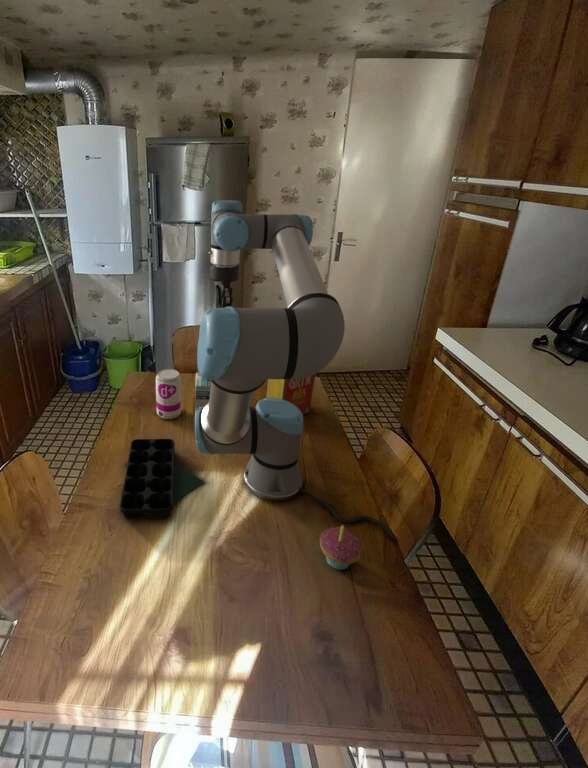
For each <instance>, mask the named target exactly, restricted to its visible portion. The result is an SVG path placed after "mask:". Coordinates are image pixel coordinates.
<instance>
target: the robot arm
mask: <svg viewBox="0 0 588 768" xmlns="http://www.w3.org/2000/svg"><path fill="white" fill-rule="evenodd" d="M210 217H211V219H210V220H211V221H210V223H211V224H210V242H211V243H210V251H208V252H207V253H208V256H210V266H209V279H210V280H212V281H213V282H216V283H217V284H215V285H214V288H215V289H214V291H215V307H212V308H209V309H208V310H207V311H205V313H203V316H202V318H201V321H200V326H199V329H198V330H199V333H198V335H199V336H198V339H197V356H196V357H197V359H196V360H197V361H196V362H197V373H199V374H200V376H201V377H202V378H205V379H209V380H210V381H211V390H210V399H209V403H208V404H207V405H206V406H202V407H198V408H197V409H196V412H195V411H194V412H195V413H194V436H195V444H196V448H197V451H198V452H199V453H200V454H205V455H211V456H212V455H251V457H250V459H249V461H248V463H247V465H246V466H245V469H244V471H243V472H244V473H243V483H244V485H245V488H246V489H247V490H248V491H249V492H250V493H251V494H253V495H254V496H256V497H257V498H260V499H262V500H265V501H270V502H286V501H289V500H292V499H294V498H296V497H297V496H298V495H299V494H300V493H302V494H303V495H306V496H307V497H309V498H310V499H312V500H314V501H316V502H317V503H320V504H321V505H323V506H325V507H326V508H327V509H328V510H329V511H330V512H331V514H332V515H333V516H334V518H335V519H336V520H337V521H339V522H341V523H344V524H353V523H357V522H359V521H368V522H371V523H374V524H376V525H378V526H380V527H381V528H383V529H384V530H385V531H386V532H387V533H388V535H389V536H390V537H391V539H392V540H393V542H395V543H399V539H398V538H397V536H396V535H395V534H394V532H393V531H392V529H390V527H388V526H387V525H386V524H385V523H384V522H382V521H380V520H379V519H377V518H374V517H372V516H367V515H358V516H357V517H354V518H350V519H348V518H347V519H346V518H344V517H341V516H340V515H339V514H338V513H337V511H336V510H335V508H334V507H333V506H332V505H331V504H330V503H328V502H327V501H325V500H323V499H321V498H319V497H318V496H316V495H314V494H312V493H310V492H308V491H307V490H305V489H304V488H302V487H303V476H302V473H301V468H300V464H299V457H300V449H301V443H302V435H303V432H304V414H302V412H301V411H300V410H299V408H298V407H296V406H295V405H294V404H292V403H290V402H288V401H285V400H282V399H278V398H266V397H265V398H262V399H260V400H259V401H258V402H257V404H255V406H251V403H252V399H253V396H254V394H255V392H256V391H258V390H259V389H260V388H261V387H262V386H264V385H265V383H266V382H267V381H268V379H302V378H306V377H309V376H311V375H314V374H315V375H316V374H317V373H320V371H322V370H324V368H326V367H327V366H328V365H329V364H330V363H331V361H333V359H334V358H335V357H336V355H337V353H338V352H339V350H340V348H341V345H342V342H343V340H344V335H345V330H346V329H345V317H344V313H343V310H342V308H341V306H340V303H339V302H338V300H337V299H336V297H334V296H333V295H332V294H329V292H328V290H327V288H326V285H325V282H324V280H323V278H322V275H321V272H320V270H319V268H318V266H317V262H316V261H315V258H314V255H313V253H312V251H311V248H310V245H311V243H312V240H313V235H314V226H313V220H312V218H311V217H310V216H309V215H307V214H306V215H305V214H297V213H291V214H264V213H263V214H262V213H261V214H259V213H251V214H250V213H243V204H242V202H241V201H239V200H230V199H219V200H214V201H213V202H212V204H211V213H210ZM241 249H246V250H247V249H249V250H251V249H252V250H254V249H255V250H272V253H273V257H274V262H275V265H276V267H277V272H278V277H279V281H280V283H281V287H282V291H283V295H284V299H285V302H286V306H287V307H233V306H232V305H233V300H234V298H233V296H232V295H233V287H231V283H232V282H236V281H238V280H239V278H240V277H239V276H240V265H239V264H240V262H241Z"/></svg>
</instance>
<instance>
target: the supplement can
mask: <svg viewBox="0 0 588 768" xmlns="http://www.w3.org/2000/svg"><path fill="white" fill-rule="evenodd" d="M155 397H156V398H155V401H156V402H155V403H156V415H157V416H159V417H160V418H161V419H166V420H173V419H176V418H177V417H179V416H180V415H181V414H182V377H181V375H180V372H179V371H178V370H176V369H173V368H164V369H161V370H159V371H157V374H156V376H155Z"/></svg>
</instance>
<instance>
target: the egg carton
mask: <svg viewBox="0 0 588 768" xmlns="http://www.w3.org/2000/svg"><path fill="white" fill-rule="evenodd" d="M175 448H176V443H175V440H174V439H170V438H136V439H133V440H132V441H131V443H130V448H129V454H128V459H127V464H126V469H125V470H126V471H125V476H124V479H123V486H122V492H121V497H120V502H119V511H120V513H122V516H123V517H124V519H126V520H138V519H141V518H142V517H144V515H149V516H150V518H151V519H153V520H167V519H169V518H170V517H171V514H172V511H173V509H174V503H173V499H174V463H175V462H176V460H175V455H176V454H175V451H176V449H175Z"/></svg>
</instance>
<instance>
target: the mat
mask: <svg viewBox="0 0 588 768" xmlns="http://www.w3.org/2000/svg"><path fill="white" fill-rule="evenodd" d="M205 483H206V482H205V481H204V480H203V479H201V478H199V477H198V476H197V475H195V474H194V473H193V472H192V471H190V470H189V469H187V468H186V467H184V466H183V465H181V464H180V463H179V462H177V461H175V463H174V499H173V504H175V503H176V502H178V501H179V500H181V499H182V498H183V497H185V496H187V495H188V494H190V493H191V492H193V491H194V490H196V489H198V488H199V487H200V486H202V485H204V484H205Z"/></svg>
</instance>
